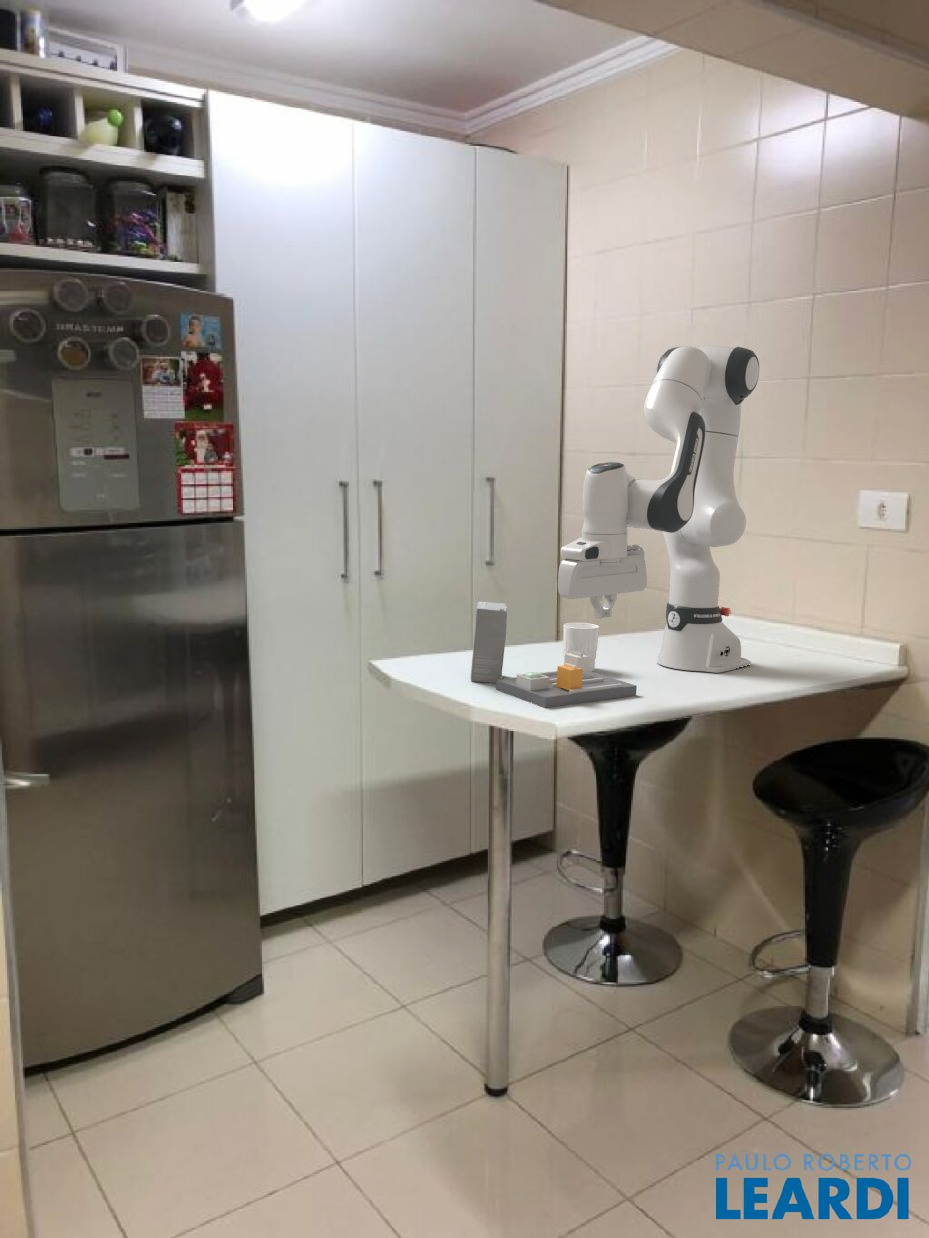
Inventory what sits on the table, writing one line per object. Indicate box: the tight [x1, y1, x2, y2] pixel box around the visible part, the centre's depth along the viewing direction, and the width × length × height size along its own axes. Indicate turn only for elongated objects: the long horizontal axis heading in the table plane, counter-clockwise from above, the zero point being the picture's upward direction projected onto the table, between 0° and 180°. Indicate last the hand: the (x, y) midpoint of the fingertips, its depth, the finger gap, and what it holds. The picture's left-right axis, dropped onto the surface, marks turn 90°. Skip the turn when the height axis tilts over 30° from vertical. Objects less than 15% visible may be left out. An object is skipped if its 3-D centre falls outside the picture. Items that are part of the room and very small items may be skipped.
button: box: [525, 671, 541, 679], centre depth 195 cm, size 3×3×2 cm
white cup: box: [562, 622, 600, 672], centre depth 222 cm, size 8×8×10 cm
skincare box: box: [470, 601, 508, 684], centre depth 209 cm, size 8×7×16 cm
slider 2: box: [556, 662, 583, 690], centre depth 194 cm, size 3×4×5 cm
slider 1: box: [565, 651, 589, 675], centre depth 207 cm, size 3×4×5 cm
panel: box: [496, 670, 637, 709], centre depth 200 cm, size 23×16×4 cm
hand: (603, 617), depth 197 cm, fingers closed
